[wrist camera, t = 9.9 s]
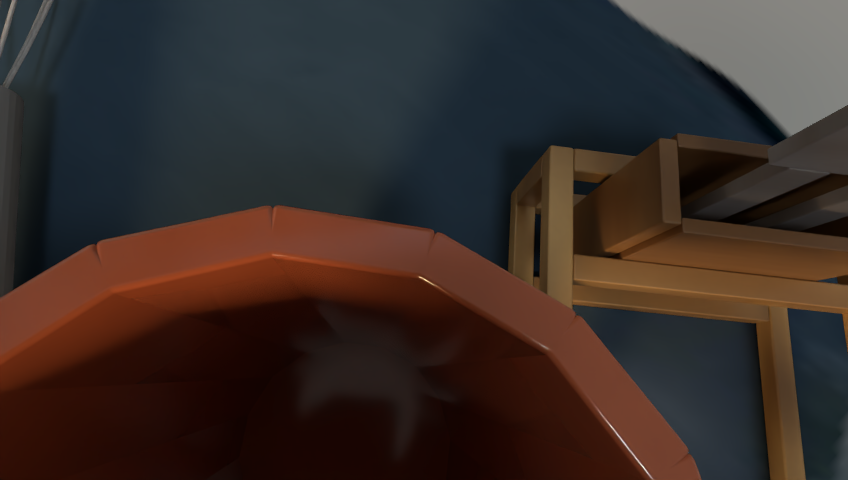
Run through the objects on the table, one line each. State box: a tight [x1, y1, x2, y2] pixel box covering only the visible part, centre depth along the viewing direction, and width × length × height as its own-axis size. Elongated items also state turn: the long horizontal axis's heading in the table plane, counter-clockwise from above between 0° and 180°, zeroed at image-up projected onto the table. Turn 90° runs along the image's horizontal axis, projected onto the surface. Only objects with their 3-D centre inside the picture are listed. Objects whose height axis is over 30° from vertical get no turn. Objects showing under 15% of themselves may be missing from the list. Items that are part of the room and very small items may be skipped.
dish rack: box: [508, 105, 848, 480], centre depth 13 cm, size 14×11×12 cm
